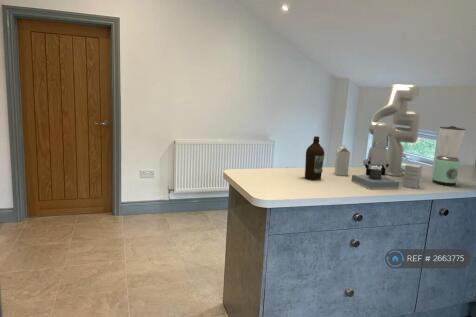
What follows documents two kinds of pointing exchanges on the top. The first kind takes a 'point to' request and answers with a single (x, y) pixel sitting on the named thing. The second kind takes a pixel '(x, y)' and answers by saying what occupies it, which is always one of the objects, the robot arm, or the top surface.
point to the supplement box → (412, 176)
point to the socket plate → (375, 182)
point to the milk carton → (342, 161)
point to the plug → (375, 174)
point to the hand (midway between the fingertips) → (375, 175)
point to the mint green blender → (448, 155)
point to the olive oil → (314, 160)
